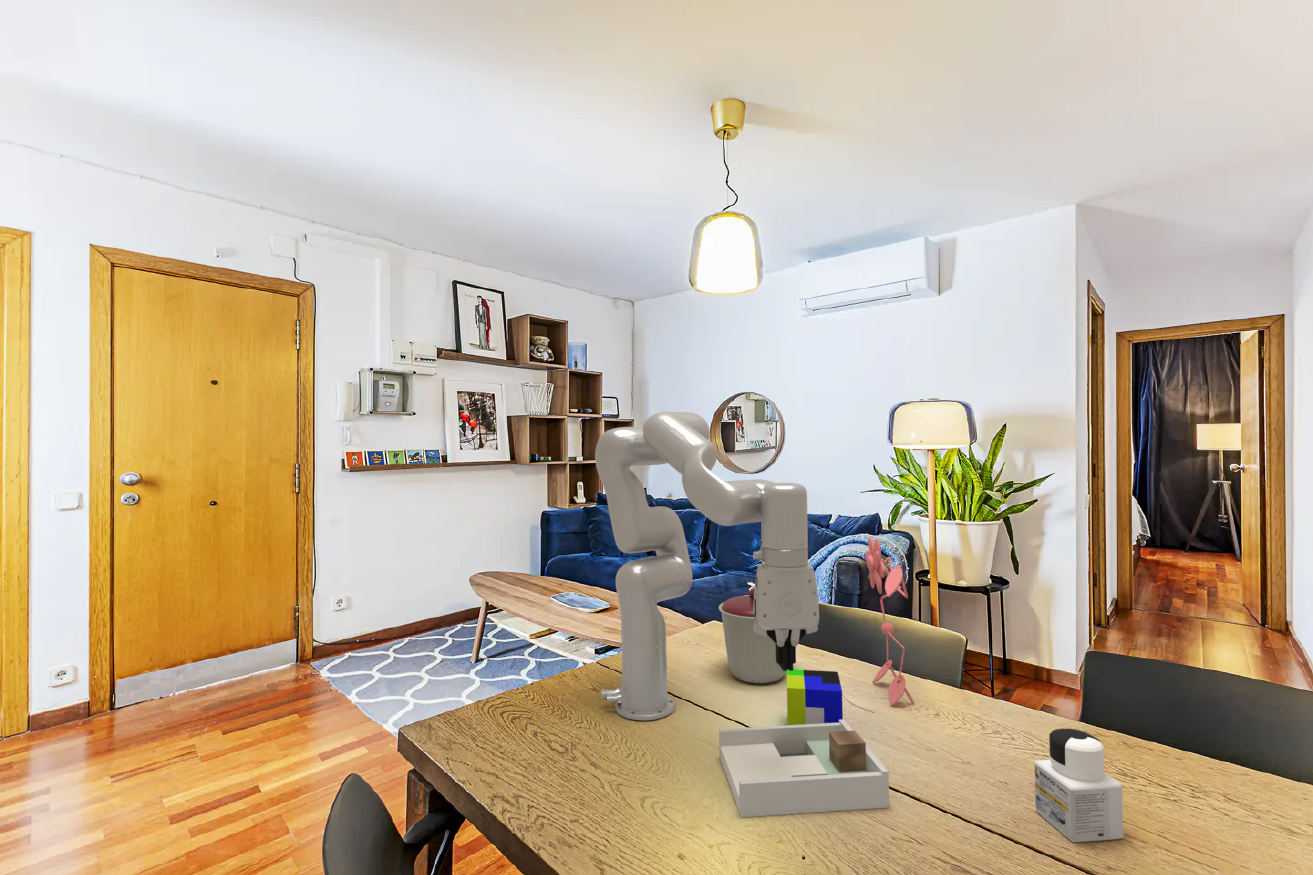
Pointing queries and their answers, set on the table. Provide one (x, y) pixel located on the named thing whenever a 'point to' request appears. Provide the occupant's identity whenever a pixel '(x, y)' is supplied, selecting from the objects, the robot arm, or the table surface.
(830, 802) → the tray
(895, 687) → the figurine
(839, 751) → the walnut block
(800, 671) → the puzzle toy
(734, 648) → the canister
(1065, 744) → the container
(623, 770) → the table surface
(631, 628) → the robot arm
